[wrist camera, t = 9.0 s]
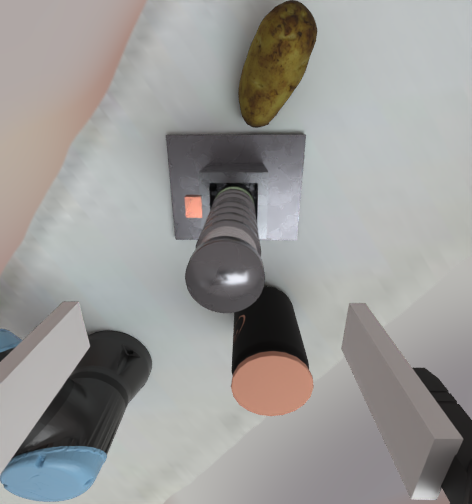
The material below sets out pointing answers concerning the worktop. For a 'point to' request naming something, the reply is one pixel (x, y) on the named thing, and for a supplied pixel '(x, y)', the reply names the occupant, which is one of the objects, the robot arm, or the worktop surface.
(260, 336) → the coffee jar
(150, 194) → the worktop surface
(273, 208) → the stand
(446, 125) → the worktop surface
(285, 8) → the potato
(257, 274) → the column
